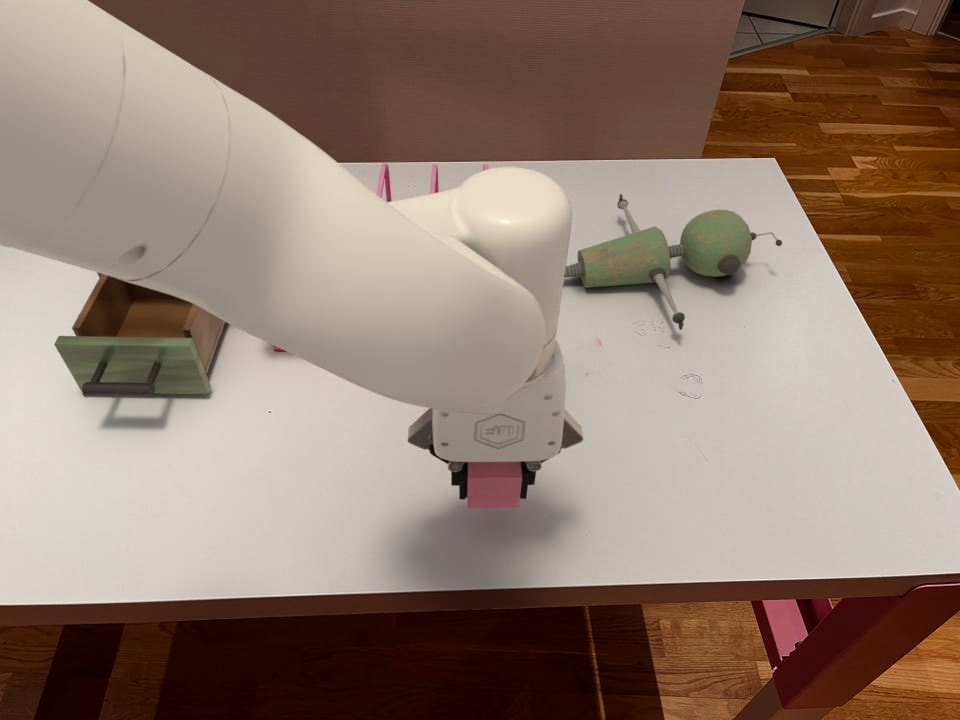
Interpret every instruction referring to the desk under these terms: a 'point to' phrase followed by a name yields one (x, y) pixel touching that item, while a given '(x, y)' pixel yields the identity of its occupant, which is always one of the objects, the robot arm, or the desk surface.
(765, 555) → the desk surface
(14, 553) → the desk surface
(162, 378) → the drawer
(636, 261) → the toy robot
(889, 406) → the desk surface
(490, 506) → the block
